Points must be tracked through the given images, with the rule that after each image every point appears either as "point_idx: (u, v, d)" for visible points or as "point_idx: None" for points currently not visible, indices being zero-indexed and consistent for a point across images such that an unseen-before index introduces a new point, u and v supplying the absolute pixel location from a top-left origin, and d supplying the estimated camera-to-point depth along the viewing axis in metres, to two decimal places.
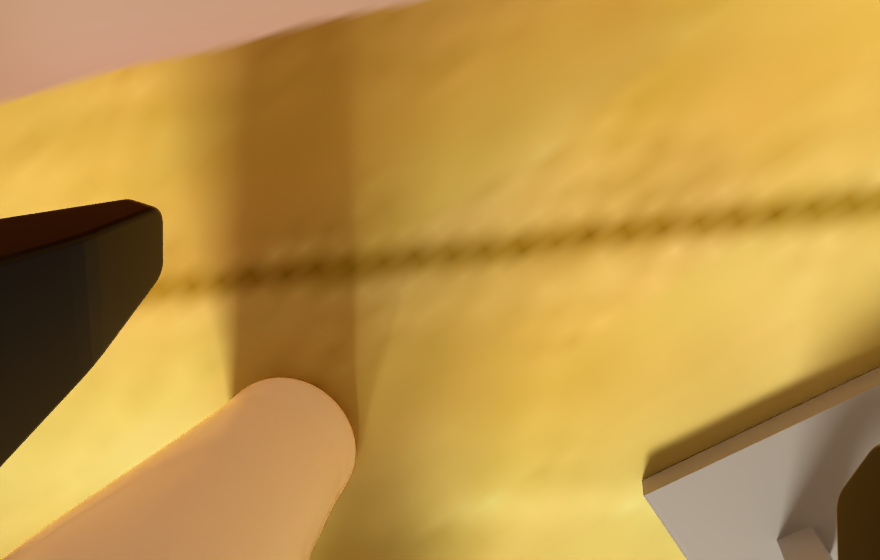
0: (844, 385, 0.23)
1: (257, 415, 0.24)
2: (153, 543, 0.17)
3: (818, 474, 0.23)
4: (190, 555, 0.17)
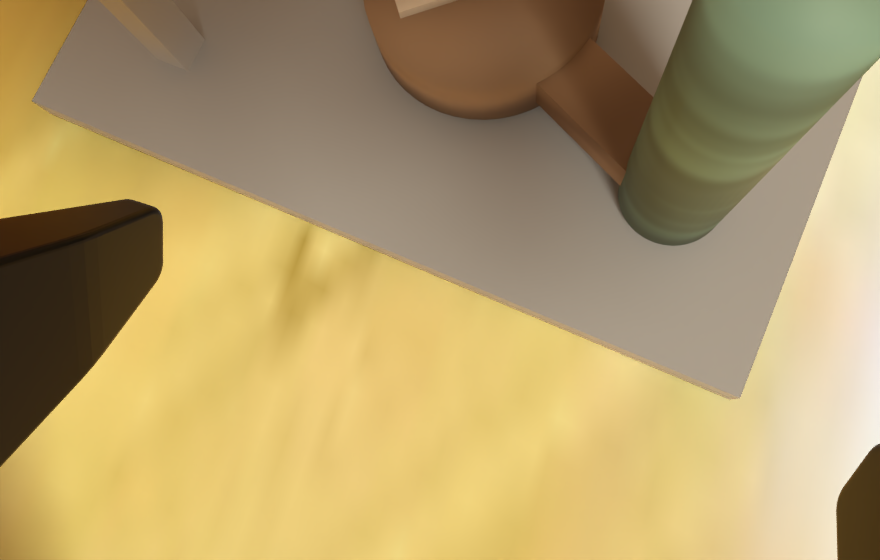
0: None
1: None
2: None
3: None
4: None
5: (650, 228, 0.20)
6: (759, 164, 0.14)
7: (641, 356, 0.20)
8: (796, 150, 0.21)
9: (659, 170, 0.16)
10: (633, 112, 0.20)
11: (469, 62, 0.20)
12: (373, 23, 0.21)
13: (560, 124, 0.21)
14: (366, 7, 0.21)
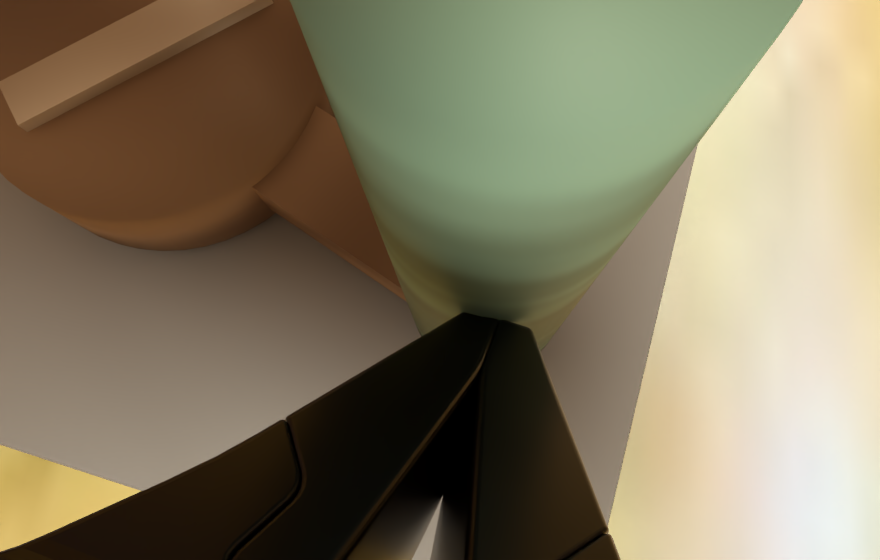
0: None
1: None
2: None
3: None
4: None
5: None
6: (566, 297, 0.08)
7: None
8: (623, 252, 0.15)
9: (425, 313, 0.10)
10: None
11: (141, 177, 0.13)
12: None
13: (308, 234, 0.14)
14: None
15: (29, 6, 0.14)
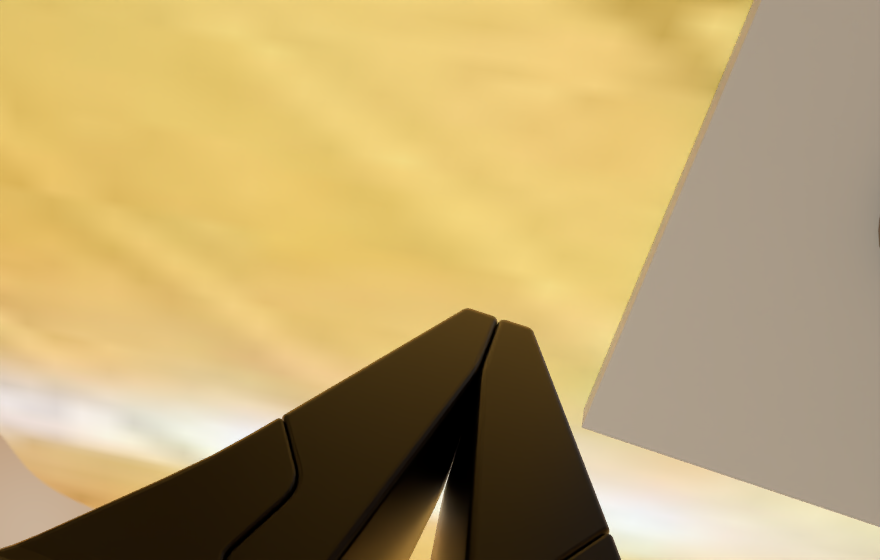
0: None
1: None
2: None
3: None
4: None
5: None
6: None
7: (609, 362, 0.23)
8: (815, 480, 0.23)
9: None
10: None
11: None
12: None
13: None
14: None
15: None
